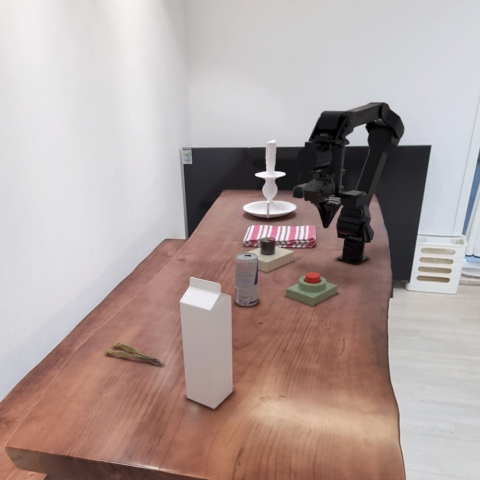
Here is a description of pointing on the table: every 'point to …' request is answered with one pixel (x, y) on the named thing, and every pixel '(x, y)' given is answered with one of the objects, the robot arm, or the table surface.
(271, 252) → the knob
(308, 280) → the button
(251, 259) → the energy drink
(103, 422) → the table surface
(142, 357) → the dried herb bundle
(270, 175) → the candlestick
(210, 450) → the table surface
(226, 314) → the milk
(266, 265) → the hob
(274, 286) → the table surface
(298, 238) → the dish towel
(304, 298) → the button base
